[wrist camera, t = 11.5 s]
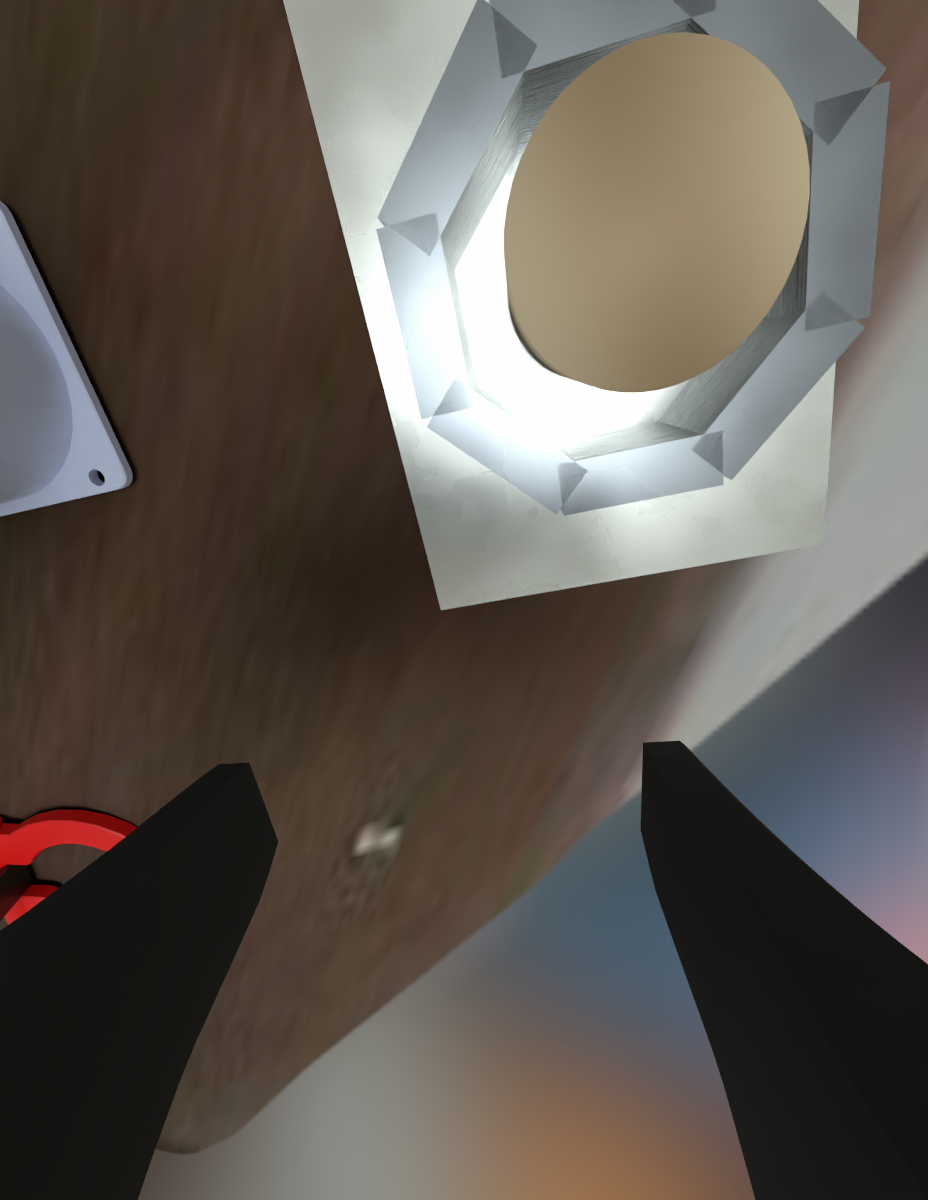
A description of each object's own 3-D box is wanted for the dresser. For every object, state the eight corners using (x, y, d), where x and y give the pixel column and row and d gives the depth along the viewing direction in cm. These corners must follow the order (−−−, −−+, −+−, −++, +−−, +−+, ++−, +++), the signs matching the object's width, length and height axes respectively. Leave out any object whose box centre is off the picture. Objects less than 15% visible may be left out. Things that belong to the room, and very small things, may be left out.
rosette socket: (444, 598, 18) (427, 664, 14) (287, -18, 12) (176, -224, 8) (805, 534, 16) (908, 588, 12) (843, -224, 10) (1077, -631, 6)
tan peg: (534, 403, 14) (546, 430, 9) (484, 225, 13) (464, 125, 7) (696, 345, 13) (820, 334, 8) (665, 143, 12) (797, -41, 6)
